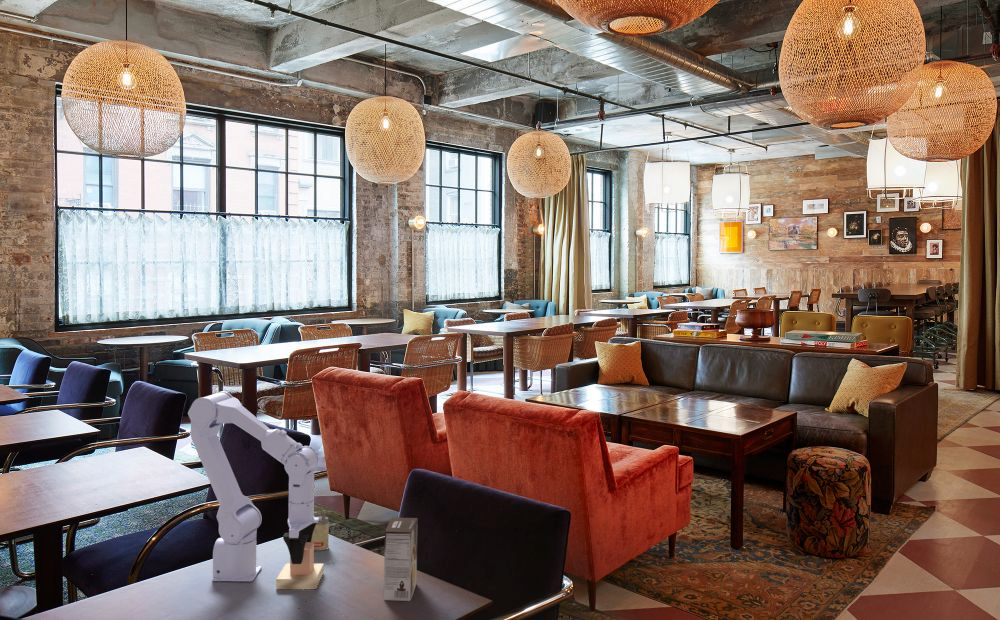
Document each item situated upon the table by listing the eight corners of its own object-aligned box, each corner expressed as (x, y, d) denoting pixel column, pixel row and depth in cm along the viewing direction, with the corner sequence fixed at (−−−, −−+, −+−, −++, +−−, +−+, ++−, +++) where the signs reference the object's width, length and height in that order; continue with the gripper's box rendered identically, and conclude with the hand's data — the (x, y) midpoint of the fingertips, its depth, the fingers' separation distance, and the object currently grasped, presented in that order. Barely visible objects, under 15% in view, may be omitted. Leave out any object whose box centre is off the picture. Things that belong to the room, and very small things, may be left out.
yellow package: (299, 551, 191) (300, 513, 190) (302, 545, 195) (302, 508, 194) (327, 550, 192) (328, 513, 191) (329, 545, 196) (330, 508, 195)
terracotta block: (290, 574, 171) (290, 549, 171) (294, 566, 176) (294, 542, 175) (309, 574, 171) (309, 549, 171) (313, 566, 176) (313, 542, 175)
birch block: (276, 591, 169) (276, 579, 169) (285, 575, 178) (286, 563, 178) (315, 592, 169) (315, 579, 169) (323, 575, 178) (323, 563, 178)
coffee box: (390, 582, 174) (391, 516, 173) (417, 583, 174) (418, 517, 173) (383, 600, 165) (384, 530, 164) (411, 601, 165) (412, 531, 164)
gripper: (311, 510, 165) (311, 569, 166) (324, 490, 180) (324, 545, 181) (279, 510, 165) (279, 569, 166) (295, 490, 179) (295, 544, 180)
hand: (300, 556), depth 173 cm, fingers open, 7 cm apart
